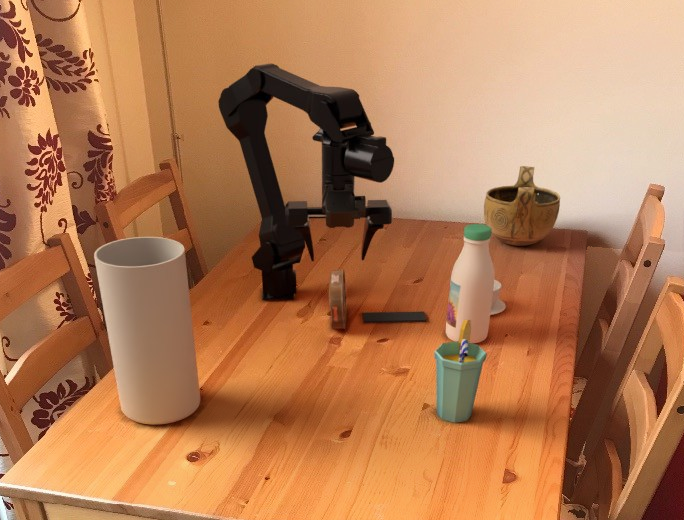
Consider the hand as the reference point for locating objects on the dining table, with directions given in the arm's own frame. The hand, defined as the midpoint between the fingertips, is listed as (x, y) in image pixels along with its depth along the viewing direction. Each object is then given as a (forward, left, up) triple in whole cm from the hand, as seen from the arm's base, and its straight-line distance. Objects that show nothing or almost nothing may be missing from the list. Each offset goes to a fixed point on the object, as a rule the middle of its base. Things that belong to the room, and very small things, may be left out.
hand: (337, 260), depth 146 cm
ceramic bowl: (+44, +42, -12) cm, 63 cm away
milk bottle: (+23, -8, -12) cm, 28 cm away
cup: (+16, -37, -12) cm, 43 cm away
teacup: (+28, +5, -12) cm, 31 cm away
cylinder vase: (-30, -32, -12) cm, 46 cm away
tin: (0, 0, -12) cm, 12 cm away
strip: (+11, 0, -12) cm, 16 cm away
